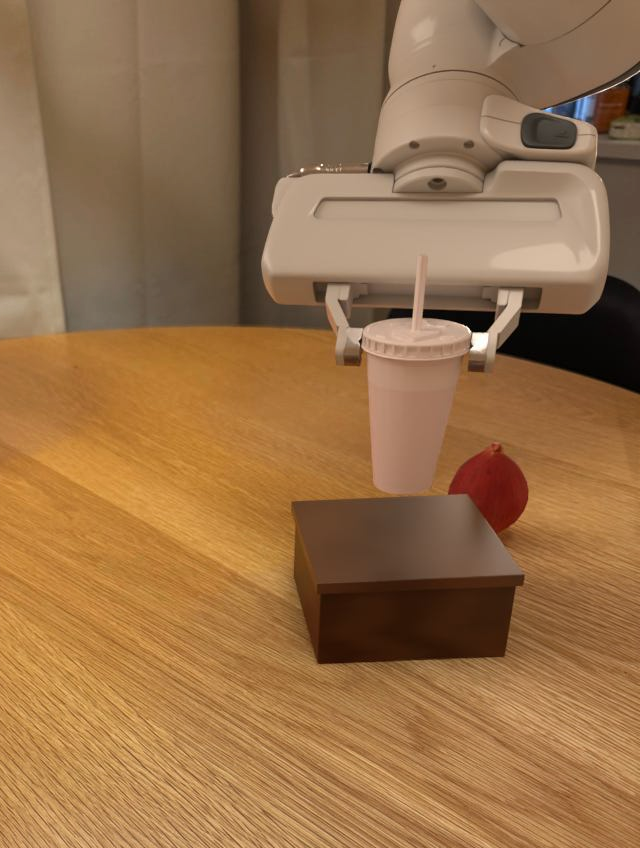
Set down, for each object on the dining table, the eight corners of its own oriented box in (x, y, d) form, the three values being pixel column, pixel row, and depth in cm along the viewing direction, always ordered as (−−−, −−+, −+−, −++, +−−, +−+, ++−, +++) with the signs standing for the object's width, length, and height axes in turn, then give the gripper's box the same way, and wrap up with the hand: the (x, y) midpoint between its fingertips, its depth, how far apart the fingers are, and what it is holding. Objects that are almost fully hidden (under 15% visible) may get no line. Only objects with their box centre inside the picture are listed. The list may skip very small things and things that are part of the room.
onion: (428, 538, 79) (438, 441, 75) (472, 517, 82) (484, 422, 78) (492, 562, 75) (506, 461, 71) (535, 539, 78) (552, 440, 74)
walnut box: (458, 568, 75) (468, 493, 72) (511, 658, 64) (525, 574, 61) (288, 575, 75) (291, 500, 72) (313, 666, 64) (317, 583, 61)
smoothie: (345, 498, 63) (359, 262, 55) (358, 461, 68) (373, 242, 61) (451, 507, 61) (480, 265, 54) (456, 468, 66) (484, 243, 59)
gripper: (272, 130, 63) (234, 329, 60) (627, 125, 57) (604, 344, 54) (285, 197, 69) (251, 381, 66) (607, 199, 63) (585, 400, 60)
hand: (413, 364), depth 60 cm, fingers closed on smoothie, 6 cm apart
